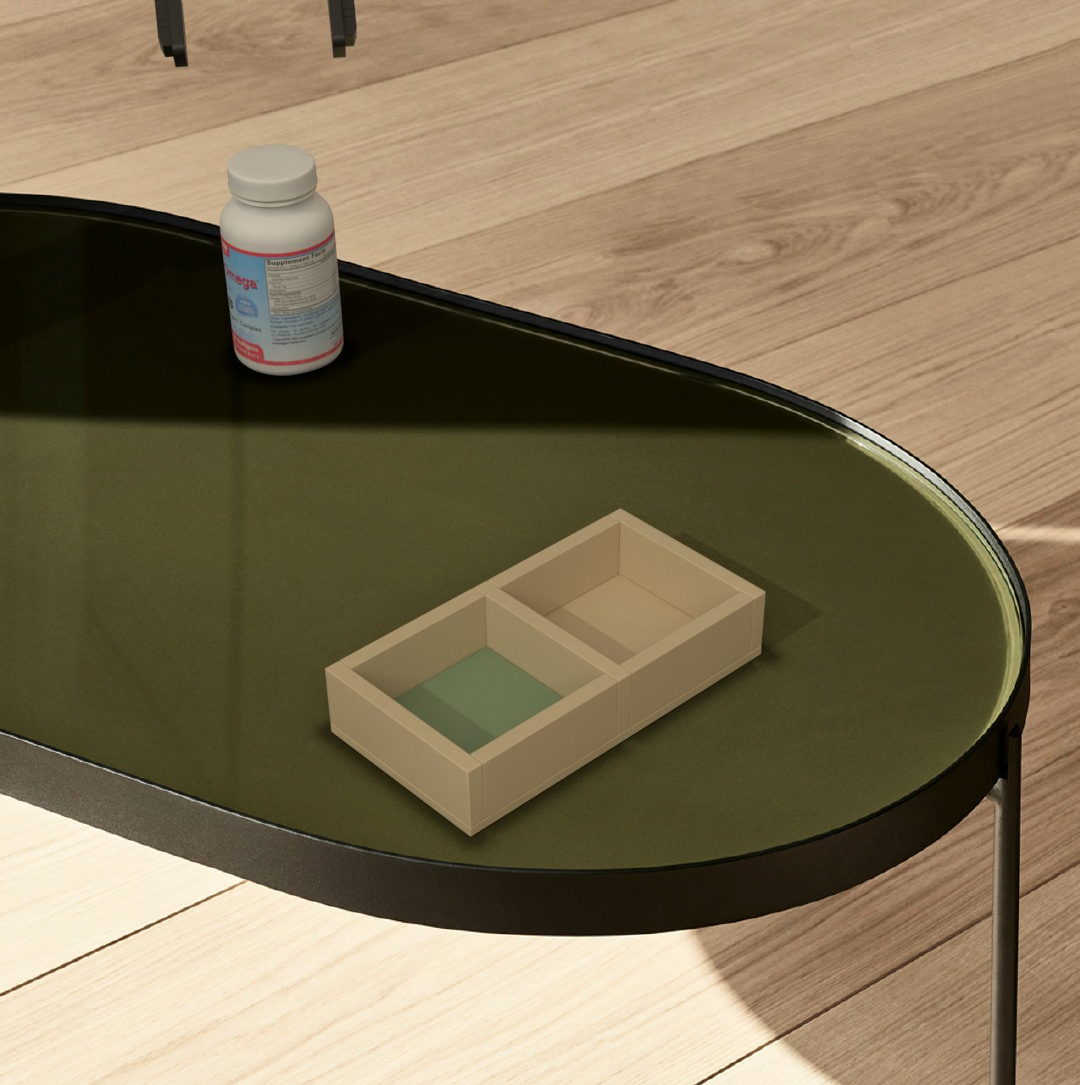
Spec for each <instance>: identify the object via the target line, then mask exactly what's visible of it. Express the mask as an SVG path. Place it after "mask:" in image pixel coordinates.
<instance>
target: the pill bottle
mask: <svg viewBox="0 0 1080 1085" xmlns="http://www.w3.org/2000/svg"><path fill="white" fill-rule="evenodd" d="M226 171H227V186H228V189H229V192H230V194H231V196H232V197H231V198H229V200H228V201H227V202H226V203H225V205H224V207H222V208H223V209H222V210H221V212H220V217H219V230H220V232H219V234H220V240H221V242H220V243H221V248H222V249H221V250H222V257H223V258H222V259H223V267H224V275H225V284H226V292H227V299H228V307H229V308H228V309H229V316H230V326H231V334H232V342H233V349H234V353H235V355H236V357H237V359H238V360H239V361H240V362H241V363H242V364H243V365H244V366H245V367H247V368H248V369H251V370H253V371H255V372H258V373H260V374H264V375H270V376H279V377H280V376H282V377H283V376H284V377H286V376H295V375H301V374H304V373H308V372H309V373H310V372H313V371H315V370H318V369H321V368H323V367H325V366H326V367H327V366H328V365H329V364H331V363H332V362H333V361H334V360H336V359H337V358H338V357H339V355H340V354H341V352H342V350H343V347H344V329H343V328H344V327H343V315H342V302H341V301H342V300H341V289H340V277H339V276H340V275H339V267H338V264H339V263H338V254H337V242H336V229H335V221H334V220H335V219H334V213H333V210H332V208H331V206H330V204H329V203H328V201H327V200H326V198H324V197H323V196H322V195H321V194H319V193H318V192H317V191H316V190H317V186H318V182H319V180H318V175H317V166H316V160H315V157H314V156H313V154H312V153H311V152H309V151H308V150H306V149H304V148H301V147H299V146H294V145H290V144H282V143H281V144H279V143H278V144H277V143H270V144H259V145H255V146H251V147H250V146H249V147H248V148H245V149H242V150H239V151H238V152H235V153H234V154H233V155H232V156H231V157H230V158H229V159H228V161H227V164H226Z"/></svg>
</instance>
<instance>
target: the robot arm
mask: <svg viewBox="0 0 1080 1085" xmlns="http://www.w3.org/2000/svg"><path fill="white" fill-rule="evenodd" d="M153 1H154V10H155V11H154V12H155V20H156V31H157V39H158V44H159V48H160V50H161V53H162V55H163V56H164V58H173V62H174V63H173V64H174V67H175V68H187V67H189V57H188V46H187V36H186V24H185V16H184V15H185V13H184V5H183V4H184V3H183V0H153ZM355 6H356V5H355V0H327V10H328V21H329V30H330V40H331V52H332V58H333V59H341V58H342V59H343V58H346V57H347V50H346V49H347V48H346V47H354V46H355V44H356V41H357V37H358V36H357V35H358V31H357V29H358V25H357V24H358V23H357V15H356V14H357V13H356V7H355Z"/></svg>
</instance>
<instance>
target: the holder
mask: <svg viewBox="0 0 1080 1085" xmlns="http://www.w3.org/2000/svg"><path fill="white" fill-rule="evenodd" d="M766 596H767V595H766V591H765V590H764V589H762V588H760V587H758V586H757V585H755V584H753V583H751V582H750V581H748V580H746V579H745V578H743V577H741V576H740V575H738V574H736V573H734V572H733V571H731V570H728V568H725V567H723V566H722V565H720V564H719V563H716V562H715V561H713V560H711V559H710V558H708V557H706V556H704V555H703V554H701V553H699V552H698V551H696V550H695V549H692V548H691V547H689V546H687V545H685V544H683V543H682V542H680V541H678V540H677V539H675V538H673V537H671V536H670V535H668V534H666V533H665V532H663V531H661V530H659V529H658V528H656V527H654V526H652V525H651V524H648V523H647V522H645V521H643V520H641V519H640V518H638V517H637V516H635V515H633V514H631V513H630V512H629V511H626V510H624V509H623V508H618V509H616V510H614V511H612V512H611V513H609V514H608V515H605V516H602V517H601V518H599V519H598V520H596V521H594V522H592V523H590V524H588V525H586V526H585V527H582V528H581V529H579V530H577V531H575V532H574V533H572V534H570V535H568V536H566V537H565V538H563V539H561V540H559V541H557V542H555V543H553V544H552V545H550V546H548V547H546V548H544V549H542V550H540V551H538V552H537V553H535V554H532V555H531V556H529V557H528V558H526V559H523V560H522V561H520V562H518V563H516V564H514V565H512V566H511V567H509V568H507V569H506V570H503V571H502V572H500V573H498V574H496V575H493V576H492V577H491V578H489V579H487V580H485V581H483V582H481V583H480V584H477V585H476V586H474V587H472V588H470V589H468V590H466V591H464V592H463V593H461V594H459V595H457V596H455V597H453V598H451V599H449V600H448V601H446V602H444V603H442V604H440V605H438V606H437V607H435V608H433V609H432V610H429V611H428V612H426V613H424V614H422V615H420V616H418V617H416V618H415V619H413V620H411V621H409V622H406V623H405V624H404V625H401V626H400V627H398V628H396V629H394V630H392V631H391V632H389V633H386V634H385V635H384V636H382V637H380V638H378V639H376V640H374V641H372V642H370V643H369V644H366V645H365V646H363V647H362V648H359V649H357V650H356V651H354V652H352V653H349V654H348V655H347V656H345V657H343V658H341V659H339V660H338V661H336V662H334V663H332V664H331V665H329V666H326V667H325V668H324V672H325V683H326V693H327V702H328V713H329V721H330V731H331V733H332V734H334V735H335V736H337V737H338V738H339V739H340V740H341V741H343V742H344V743H346V744H347V745H349V746H350V747H351V748H352V749H354V750H355V751H356V752H358V753H359V754H360V755H362V756H363V757H364V758H365V759H367V760H368V761H369V762H371V763H372V764H374V765H375V766H376V767H378V768H379V769H380V770H381V771H383V772H384V773H385V774H386V775H387V776H389V777H391V778H392V779H393V780H395V781H396V782H397V783H398V784H400V785H401V786H403V787H405V789H407V790H408V791H410V793H412V794H413V795H415V796H416V797H417V798H419V799H420V800H421V801H423V802H424V803H425V804H427V805H428V806H429V807H430V808H432V809H433V810H434V811H436V812H437V813H438V814H440V816H442V817H443V818H445V819H446V820H448V821H449V822H450V823H452V824H453V825H454V826H455V827H457V828H458V829H459V830H461V831H462V832H464V833H465V834H466V835H468V836H469V837H473V836H475V835H476V834H477V833H479V832H481V831H482V830H484V829H485V828H487V827H489V826H490V825H492V824H493V823H495V822H496V821H498V820H500V819H501V818H503V817H505V816H507V815H508V814H509V813H511V812H513V811H514V810H516V809H517V808H519V807H520V806H522V805H525V803H527V802H529V801H530V800H532V799H533V798H535V797H536V796H538V795H539V794H541V793H543V792H544V791H546V790H548V789H549V788H551V787H552V786H555V785H556V784H557V783H558V782H560V781H561V780H564V779H565V778H566V777H568V776H570V775H572V774H573V773H574V772H576V771H578V770H580V769H581V768H583V767H584V766H585V765H588V764H589V763H591V762H592V761H593V760H595V759H596V758H598V757H600V756H601V755H603V754H604V753H607V752H608V751H610V750H611V749H613V748H614V747H616V746H618V745H619V744H620V743H622V742H624V741H625V740H626V739H628V738H630V737H632V736H633V735H635V734H637V733H639V731H641V730H643V729H644V728H646V727H648V726H649V725H651V724H652V723H654V722H655V721H657V720H658V719H660V718H661V717H663V716H665V715H667V714H668V713H670V712H671V711H673V710H674V709H676V708H677V707H680V706H681V705H682V704H684V703H685V702H687V701H689V700H690V699H692V698H693V697H695V696H696V695H699V694H701V692H703V691H705V690H706V689H708V688H709V687H711V686H713V685H714V684H716V683H717V682H719V681H720V680H722V679H724V678H725V677H727V676H729V675H730V674H732V673H733V672H735V671H736V670H738V669H740V668H741V667H743V666H744V665H746V664H747V663H749V662H751V661H753V660H754V659H755V658H757V657H759V656H760V655H761V654H762V648H763V647H762V643H763V631H764V619H765V608H766Z"/></svg>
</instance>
